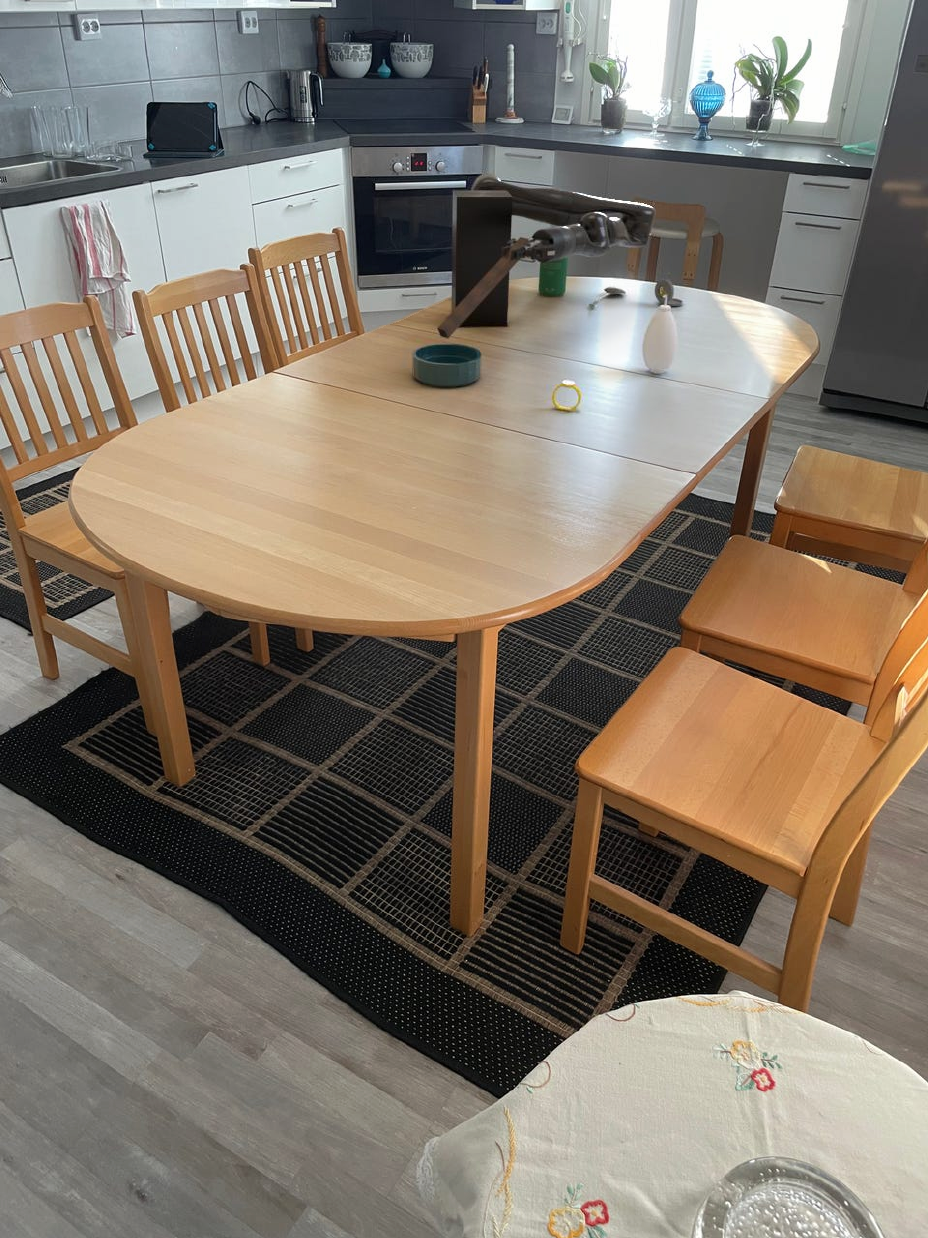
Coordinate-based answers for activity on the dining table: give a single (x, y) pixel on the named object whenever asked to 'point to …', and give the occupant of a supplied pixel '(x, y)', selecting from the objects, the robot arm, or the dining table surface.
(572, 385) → the gold diamond ring
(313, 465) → the dining table surface
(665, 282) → the pocket watch
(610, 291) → the soupspoon
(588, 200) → the robot arm
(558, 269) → the beverage can
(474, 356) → the bowl
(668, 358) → the sauce bottle
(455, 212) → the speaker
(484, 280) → the stick
